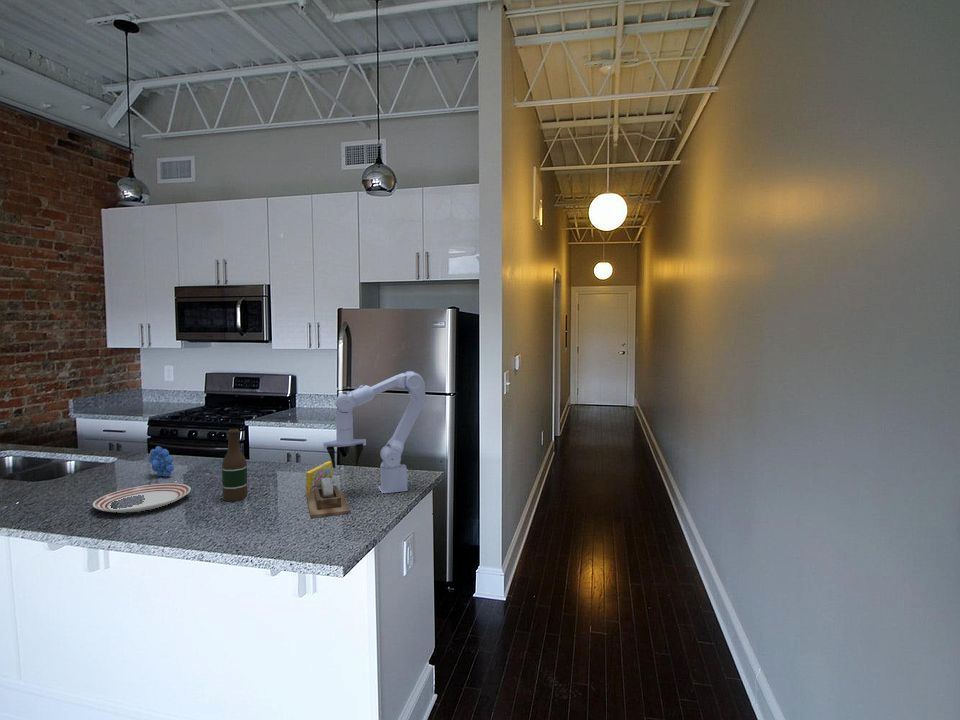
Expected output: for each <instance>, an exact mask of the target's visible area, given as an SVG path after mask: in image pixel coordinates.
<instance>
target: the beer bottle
mask: <svg viewBox="0 0 960 720" xmlns="http://www.w3.org/2000/svg"><path fill="white" fill-rule="evenodd" d="M227 434H228V438H227V439H228V441H227V452H226V454H225V456H224V457H223V460H222V462H221V463H222V464H221V477H222V479H221V480H222V481H221V482H222V499H223V500H224V499H225V500H226V501H225V500H224V501H225V502H238V500H239V501H242V500H245V499H246V498H247V497H248V464H247V459H246V457H245V455H244V454H243V453H242V451H241V444H240V429H238V428H230V429H228V430H227Z"/></svg>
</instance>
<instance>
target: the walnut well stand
mask: <svg viewBox="0 0 960 720" xmlns="http://www.w3.org/2000/svg"><path fill="white" fill-rule="evenodd" d="M306 500H307V501H306V502H307V506H308V509H309V516H310V519H319V518H326V516H327V517H333V516H342V514H343V515H350V514H351V509H350V506H349V503H348V501H347V498H346V497H345V495H344V492H343V490H342V489H338V486H337V485H333V498H325V499H322V487H321V488H314V493H309V494H307V495H306ZM349 513H350V514H349ZM318 517H319V518H318Z"/></svg>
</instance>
